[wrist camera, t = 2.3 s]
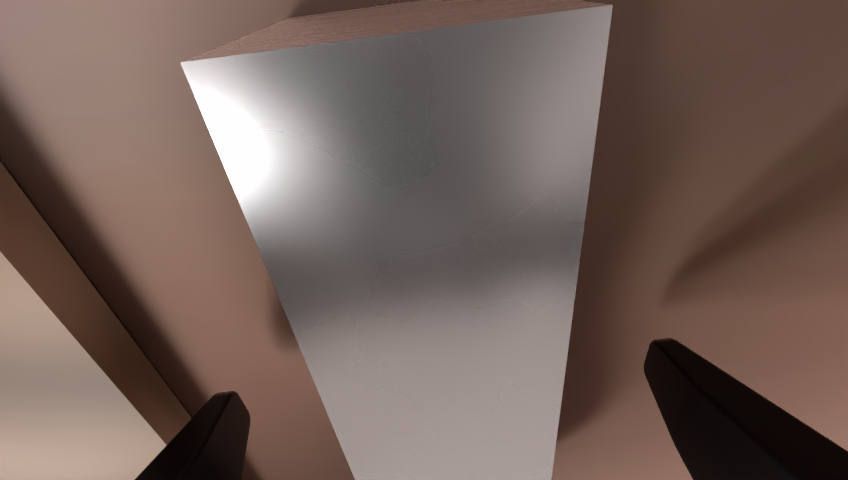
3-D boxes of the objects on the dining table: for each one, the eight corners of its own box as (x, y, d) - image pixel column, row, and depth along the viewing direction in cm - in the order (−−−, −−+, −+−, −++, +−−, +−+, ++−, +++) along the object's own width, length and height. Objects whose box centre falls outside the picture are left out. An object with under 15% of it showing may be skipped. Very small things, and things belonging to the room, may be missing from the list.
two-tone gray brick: (508, 470, 14) (541, 614, 11) (406, 482, 14) (409, 628, 11) (513, -12, 6) (639, 2, 3) (279, 19, 6) (152, 67, 3)
